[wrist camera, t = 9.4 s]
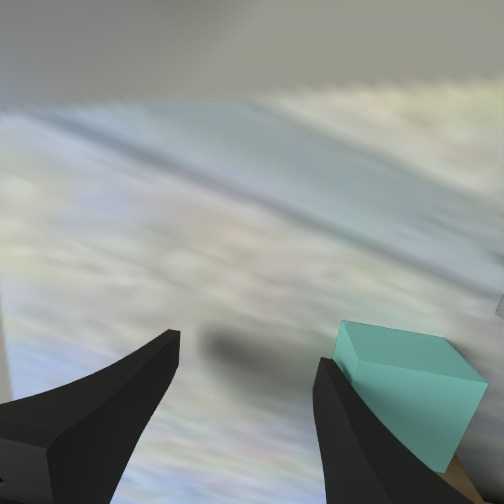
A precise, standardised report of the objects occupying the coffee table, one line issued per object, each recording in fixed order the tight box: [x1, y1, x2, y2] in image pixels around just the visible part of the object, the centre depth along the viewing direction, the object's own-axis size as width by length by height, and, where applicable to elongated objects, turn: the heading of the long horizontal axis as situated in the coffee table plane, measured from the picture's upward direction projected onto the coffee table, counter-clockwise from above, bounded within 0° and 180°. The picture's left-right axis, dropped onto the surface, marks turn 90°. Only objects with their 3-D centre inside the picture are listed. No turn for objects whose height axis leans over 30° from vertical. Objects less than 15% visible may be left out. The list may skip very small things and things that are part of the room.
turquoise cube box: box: [332, 320, 489, 473], centre depth 12 cm, size 5×5×3 cm
